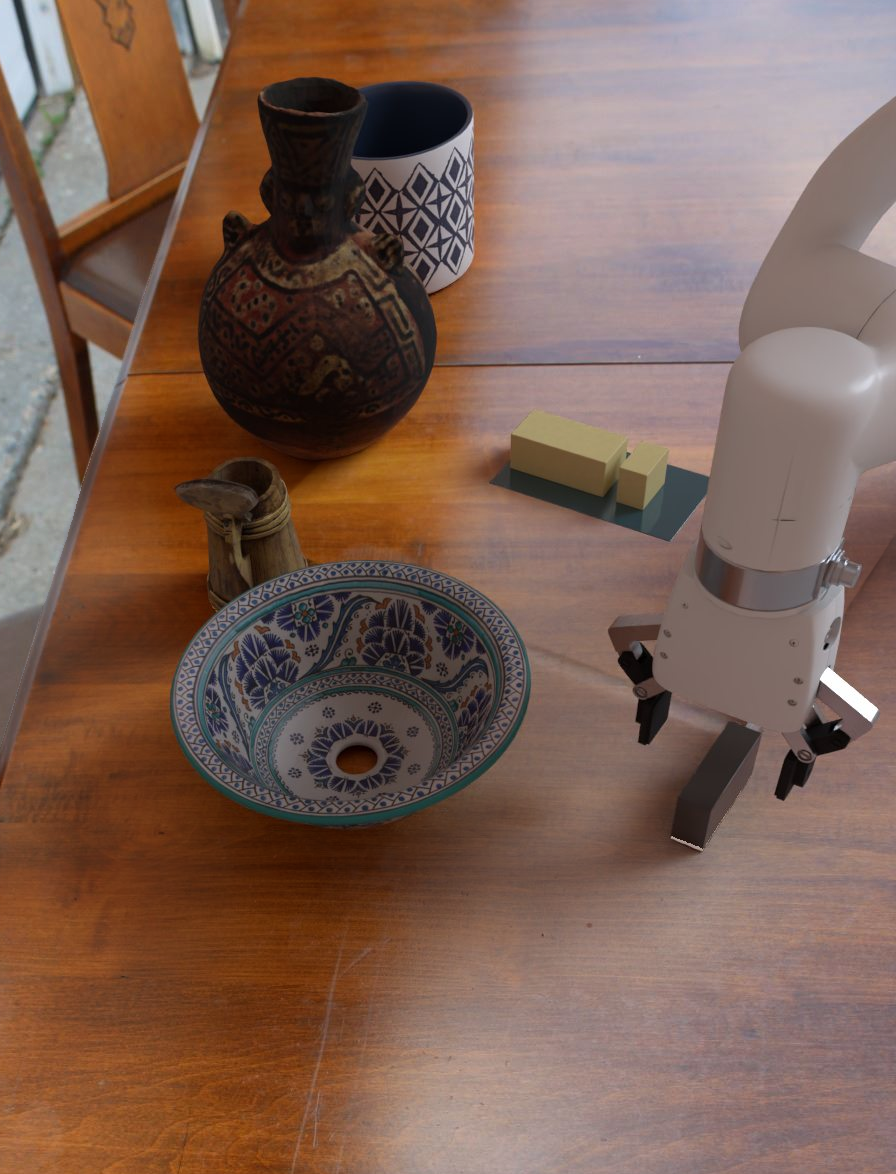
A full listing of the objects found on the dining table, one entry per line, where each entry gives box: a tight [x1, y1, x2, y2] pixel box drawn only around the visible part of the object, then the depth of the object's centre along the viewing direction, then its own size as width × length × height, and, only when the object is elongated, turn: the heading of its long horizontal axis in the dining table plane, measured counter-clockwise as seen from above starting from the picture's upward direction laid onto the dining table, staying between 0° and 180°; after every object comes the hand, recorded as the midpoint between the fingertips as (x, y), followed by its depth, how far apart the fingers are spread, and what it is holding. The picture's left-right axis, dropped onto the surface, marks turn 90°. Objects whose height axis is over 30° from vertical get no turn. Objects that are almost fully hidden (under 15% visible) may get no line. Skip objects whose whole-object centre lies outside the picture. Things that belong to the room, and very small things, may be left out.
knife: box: [670, 720, 764, 849], centre depth 94 cm, size 18×2×4 cm, turn 145°
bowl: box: [169, 559, 532, 830], centre depth 95 cm, size 25×25×10 cm
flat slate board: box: [489, 451, 710, 543], centre depth 114 cm, size 17×9×1 cm, turn 55°
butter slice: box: [616, 440, 670, 510], centre depth 111 cm, size 2×4×4 cm, turn 145°
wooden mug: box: [173, 456, 309, 611], centre depth 104 cm, size 9×14×18 cm, turn 169°
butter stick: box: [509, 408, 629, 497], centre depth 114 cm, size 9×4×4 cm, turn 55°
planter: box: [351, 80, 475, 295], centre depth 134 cm, size 16×16×14 cm
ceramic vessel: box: [197, 76, 438, 461], centre depth 111 cm, size 21×18×30 cm
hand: (718, 757), depth 89 cm, fingers open, 9 cm apart
